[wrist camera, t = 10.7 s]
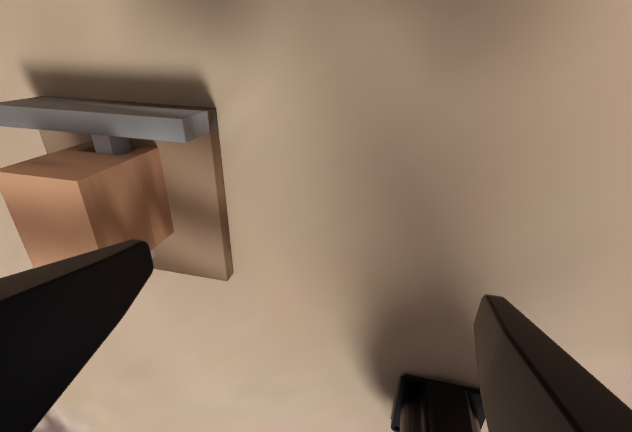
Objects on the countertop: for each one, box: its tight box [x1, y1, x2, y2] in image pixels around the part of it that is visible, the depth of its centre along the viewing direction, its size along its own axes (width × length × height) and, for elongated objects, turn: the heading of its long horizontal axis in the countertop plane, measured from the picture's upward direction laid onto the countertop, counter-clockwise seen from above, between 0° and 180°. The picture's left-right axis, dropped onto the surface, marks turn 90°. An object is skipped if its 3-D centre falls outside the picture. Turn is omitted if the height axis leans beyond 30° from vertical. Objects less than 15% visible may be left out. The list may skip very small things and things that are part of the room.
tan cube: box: [0, 141, 174, 268], centre depth 20 cm, size 6×5×6 cm
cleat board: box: [0, 96, 233, 281], centre depth 23 cm, size 12×12×4 cm
